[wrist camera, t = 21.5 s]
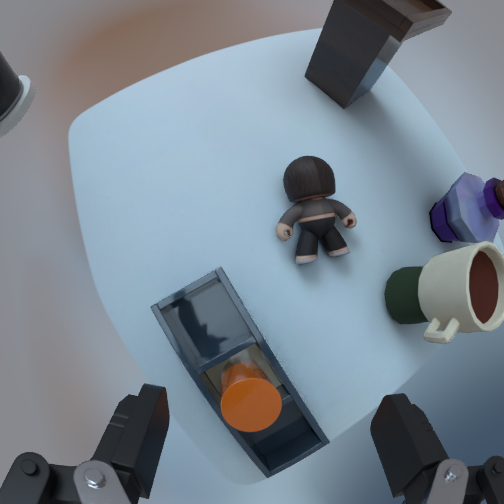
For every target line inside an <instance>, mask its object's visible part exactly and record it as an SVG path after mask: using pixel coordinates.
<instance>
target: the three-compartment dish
mask: <svg viewBox="0 0 504 504" xmlns="http://www.w3.org/2000/svg"><path fill="white" fill-rule="evenodd" d="M151 309H152V311H153V313H154V315H155V317H156V319H157V320H158V322H159V324H160V326H161V327H162V329H163V331H164V333H165V334H166V336H167V338H168V340H169V341H170V343H171V345H172V346H173V348H174V350H175V351H176V353H177V355H178V356H179V358H180V360H181V361H182V363H183V364H184V366H185V368H186V369H187V371H188V372H189V374H190V375H191V377H192V379H193V380H194V382H195V383H196V385H197V386H198V388H199V389H200V391H201V392H202V394H203V395H204V397H205V398H206V400H207V401H208V402H209V404H210V405H211V407H212V408H213V410H214V411H215V412H216V414H217V415H218V417H219V418H220V419H221V421H222V422H223V423H224V425H225V426H226V428H227V429H228V430H229V432H230V433H231V434H232V436H233V437H234V438H235V439H236V441H237V442H238V443H239V445H240V446H241V447H242V448H243V450H244V451H245V452H246V453H247V455H248V456H249V457H250V458H251V460H252V461H253V462H254V463H255V464H256V466H257V467H258V468H259V469H260V470H261V472H262V473H263V474H264V475H265V476H266V477H267V478H269V477H271V476H272V475H275V474H277V473H278V472H280V471H282V470H284V469H286V468H288V467H290V466H292V465H293V464H295V463H297V462H299V461H300V460H302V459H304V458H306V457H307V456H309V455H311V454H312V453H314V452H315V451H317V450H319V449H320V448H322V447H323V446H325V445H327V444H328V443H330V441H329V440H328V438H327V437H326V435H325V434H324V432H323V431H322V429H321V428H320V426H319V425H318V423H317V422H316V420H315V419H314V417H313V416H312V414H311V413H310V411H309V410H308V408H307V406H306V405H305V403H304V402H303V400H302V399H301V397H300V396H299V394H298V392H297V391H296V389H295V388H294V386H293V385H292V383H291V381H290V380H289V378H288V377H287V375H286V374H285V372H284V370H283V369H282V367H281V366H280V364H279V362H278V361H277V359H276V357H275V356H274V354H273V353H272V351H271V349H270V348H269V346H268V345H267V343H266V341H265V340H264V338H263V336H262V335H261V333H260V331H259V330H258V328H257V326H256V325H255V323H254V321H253V320H252V318H251V316H250V315H249V313H248V311H247V310H246V308H245V306H244V305H243V303H242V301H241V300H240V298H239V296H238V295H237V293H236V291H235V289H234V288H233V286H232V284H231V283H230V281H229V279H228V277H227V276H226V274H225V272H224V271H223V269H222V267H220V268H218V269H216V270H215V271H213V272H211V273H209V274H207V275H205V276H204V277H202V278H200V279H198V280H197V281H195V282H193V283H191V284H190V285H188V286H186V287H184V288H183V289H181V290H179V291H177V292H176V293H174V294H172V295H170V296H168V297H167V298H165V299H163V300H161V301H160V302H158V303H157V304H154V305H153V306H151ZM238 357H247V358H251V359H253V360H255V361H256V362H257V363H259V365H260V366H261V367H262V369H263V370H264V372H265V373H266V374H267V376H268V377H269V379H270V380H271V382H272V383H273V384H274V386H275V387H276V389H277V390H278V392H279V394H280V396H281V400H282V408H281V412H280V414H279V416H278V418H277V419H276V420H275V422H274V423H273V424H272V425H270V426H269V427H267V428H265V429H263V430H260V431H256V432H245V431H241V430H238V429H235V428H234V427H232V426H231V425H229V424H228V423H227V422H226V420H225V419H224V417H223V415H222V412H221V399H220V375H221V371H222V369H223V367H224V366H225V364H226V363H227V362H229V361H230V360H232V359H234V358H238Z"/></svg>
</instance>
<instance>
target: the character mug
mask: <svg viewBox="0 0 504 504" xmlns="http://www.w3.org/2000/svg"><path fill="white" fill-rule="evenodd" d="M385 299H386V305H387V309H388V311H389V312H390V314H391V316H392V318H393V319H394V320H396V321H397V322H398V323H400V324H416V323H423V322H428V321H429V322H431V323H430V324H429V326H428V327H427V329H426V331H425V333H424V335H423V336H424V340H426V341H428V342H432V343H441V344H446V343H449V342H450V341H451V340H452V339H453V337H454V336H455V334H456V332H461V333H471V332H479V331H480V332H488V331H493V330H494V329H496V328H498V327H499V326H500V325H501V323H502V322H503V321H504V255H503V253H502V252H501V251H500V249H499V248H498V247H497V246H496V245H495V244H493V243H491V242H488V241H483V242H480V243H476V244H473V245H470V246H466V247H463V248H460V249H456V250H453V251H449V252H446V253H443V254H439V255H436V256H434V257H432V258H431V259H430V260H429V261H428V262H427V263H426V264H425V265H424V267H403V268H401V269H399V270H397V271H395V272H394V273H393V274H392V275H391V277H390V278H389V280H388V281H387V285H386V290H385ZM439 329H440V330H442V331H438V330H439Z"/></svg>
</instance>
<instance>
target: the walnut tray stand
mask: <svg viewBox="0 0 504 504" xmlns="http://www.w3.org/2000/svg"><path fill="white" fill-rule="evenodd" d="M451 13H452V11H450V10H449V9H448V8H447V7H446V6H445V5H443V4H442V3H441V2H439V1H438V0H334V1H333V4H332V6H331V9H330V11H329V14H328V17H327V19H326V22H325V24H324V27H323V29H322V32H321V34H320V37H319V40H318V42H317V45H316V47H315V50H314V52H313V55H312V58H311V60H310V63H309V65H308V68H307V71H306V73H305V77H306V78H308V79H309V80H310V81H311V82H313V83H314V84H315V85H316V86H318V87H319V88H320V89H321V90H323V91H324V92H325V93H326V94H327V95H329V96H330V97H331V98H332V99H333V100H334V101H336V102H337V103H338V104H339V105H340V106H341V107H343V108H346V107H347V106H348V105H350V104H351V103H353V102H354V101H355V100H357V99H358V98H360V97H361V96H363V95H364V94H365V93H367V92H368V91H370V90H371V88H372V87H373V85H374V84H375V82H376V81H377V80H378V78H379V77H380V75H381V74H382V72H383V71H384V69H385V68H386V66H387V65H388V63H389V62H390V60H391V59H392V58H393V56H394V55H395V53H396V52H397V50H398V49H399V47H400V46H401V44H402V43H403V41H405V40H407V39H409V38H411V37H414V36H416V35H418V34H421V33H423V32H425V31H428V30H430V29H433V28H435V27H438V26H440V25H443V23H444V22H445V21H446V19H447V18H448V17H449V16H450V14H451Z"/></svg>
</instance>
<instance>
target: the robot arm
mask: <svg viewBox="0 0 504 504" xmlns="http://www.w3.org/2000/svg"><path fill="white" fill-rule="evenodd" d="M23 89H24V85H23V83H22V81H21V80H20V79H19V78H18V76H17V75H16V74H15V73H14V71H13V70H12V68H11V67H10V65H9V64H8V62H7V61H6V60H5V58H4V56H3V55H2V54H1V52H0V122H1V121H2V120H3V119H4V118H5V117H6V116H7V115H8V114H9V113H10V112H11V111H12V110H13V108H14V107H15V106H16V104H17V103H18V101H19V99H20V98H21V95H22V93H23ZM168 427H169V408H168V400H167V393H166V388H165V387H161V386H155V385H150V384H144V385H143V386H142V388H141V391H140V393H139V395H138V396H135V395H130V394H129V395H128V396H126V397H125V398H124V399H123V400H122V401H120V402H119V404H118V406H117V408H116V410H115V412H114V415H113V416H112V418H111V420H110V423H109V424H108V426H107V428H106V430H105V432H104V434H103V436H102V438H101V441H100V443H99V445H98V447H97V449H96V451H95V453H94V455H93V457H92V458H91V459H90V460H89V461H85V462H83V463H81V464H80V465H79V466H63V465H55V464H48V463H47V461H46V460H45V459H44V458H43V457H42V456H41V455H39V454H37V453H33V452H26V453H23V454H21V455H19V456H18V457H17V458H16V459H15V461H14V463H13V465H12V466H11V468H10V470H9V472H8V474H7V476H6V478H5V480H4V482H3V484H2V487H1V489H0V504H138V500H139V497H143V498H146V499H149V496H150V492H151V488H152V485H153V481H154V477H155V473H156V470H157V466H158V463H159V459H160V456H161V452H162V449H163V445H164V441H165V438H166V435H167V431H168ZM370 431H371V436H372V438H373V441H374V444H375V447H376V449H377V452H378V454H379V458H380V460H381V463H382V466H383V469H384V472H385V474H386V477H387V480H388V483H389V486H390V489H391V492H392V495H393V497H394V498H395V497H398V496H402V495H404V496H405V500H404V501H403V503H402V504H480V503H481V502H482V501H483V500H484V499H486V502H487V504H504V458H503V457H500V456H492V457H490V458H489V459H488V460H487V461H486V462H485V463H484V464H483V465H480V466H468V467H466V465H465V464H464V463H463V462H461V461H460V460H457V459H450V458H449V457H448V455H447V453H446V451H445V450H444V448H443V446H442V444H441V442H440V440H439V439H438V437H437V435H436V433H435V431H433V428H432V426H431V424H430V423H429V421H428V419H427V417H426V415H425V414H424V412H423V411H422V410H420V408H418V407H417V406H416V405H415V404H412V405H411V403H410V401H409V399H408V397H407V396H406V395H405V394H403V393H401V394H393V395H386V396H384V398H383V399H382V402H381V404H380V406H379V408H378V410H377V412H376V414H375V416H374V417H373V419H372V422H371V427H370Z"/></svg>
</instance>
